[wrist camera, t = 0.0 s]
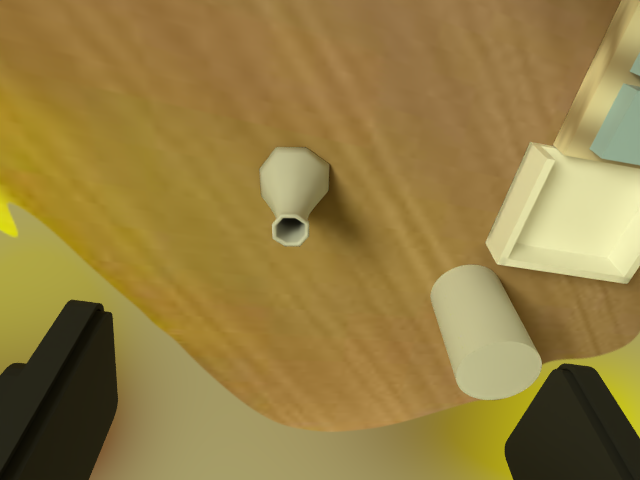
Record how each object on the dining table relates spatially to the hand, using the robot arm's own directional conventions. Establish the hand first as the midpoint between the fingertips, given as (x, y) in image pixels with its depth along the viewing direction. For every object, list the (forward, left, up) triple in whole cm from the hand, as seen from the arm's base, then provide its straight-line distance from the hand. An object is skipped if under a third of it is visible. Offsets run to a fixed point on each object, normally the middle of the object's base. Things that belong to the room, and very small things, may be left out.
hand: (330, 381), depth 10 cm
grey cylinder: (+24, +22, -37) cm, 49 cm away
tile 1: (+1, +29, -34) cm, 45 cm away
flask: (+13, 0, -37) cm, 39 cm away
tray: (+11, +29, -37) cm, 48 cm away
